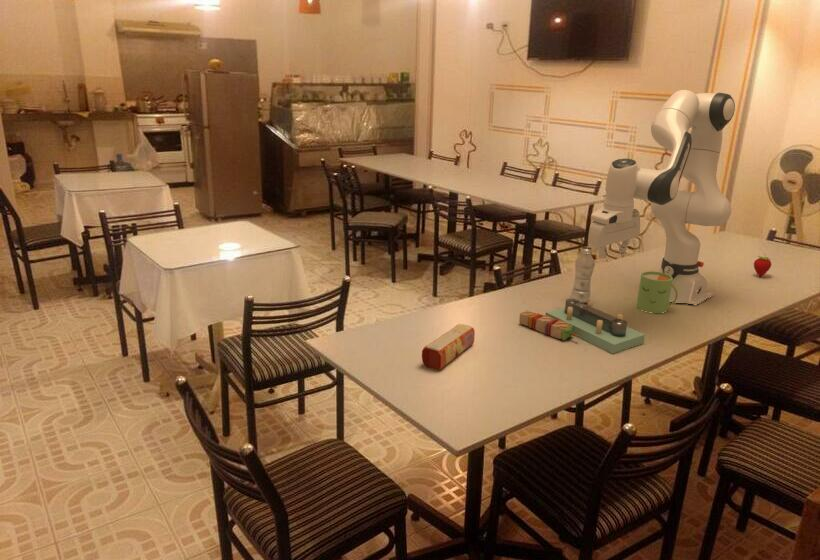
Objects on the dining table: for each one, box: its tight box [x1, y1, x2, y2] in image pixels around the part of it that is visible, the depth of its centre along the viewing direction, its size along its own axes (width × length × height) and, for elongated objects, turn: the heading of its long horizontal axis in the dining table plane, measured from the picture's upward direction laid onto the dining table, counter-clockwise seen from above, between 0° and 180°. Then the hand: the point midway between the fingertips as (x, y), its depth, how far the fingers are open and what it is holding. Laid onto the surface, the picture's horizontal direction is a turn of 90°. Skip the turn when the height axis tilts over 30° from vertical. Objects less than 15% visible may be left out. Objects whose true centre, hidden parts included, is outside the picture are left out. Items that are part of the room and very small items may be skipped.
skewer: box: [518, 310, 581, 341], centre depth 190 cm, size 21×6×5 cm, turn 44°
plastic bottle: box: [570, 246, 596, 304], centre depth 213 cm, size 6×7×20 cm
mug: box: [635, 270, 678, 313], centre depth 210 cm, size 13×10×12 cm
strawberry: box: [753, 253, 772, 277], centre depth 245 cm, size 6×8×10 cm
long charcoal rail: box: [564, 298, 628, 337], centre depth 191 cm, size 4×23×4 cm, turn 32°
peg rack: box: [545, 300, 646, 355], centre depth 191 cm, size 14×28×7 cm, turn 32°
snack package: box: [421, 323, 476, 371], centre depth 174 cm, size 21×7×7 cm, turn 147°
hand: (612, 255), depth 192 cm, fingers open, 8 cm apart
